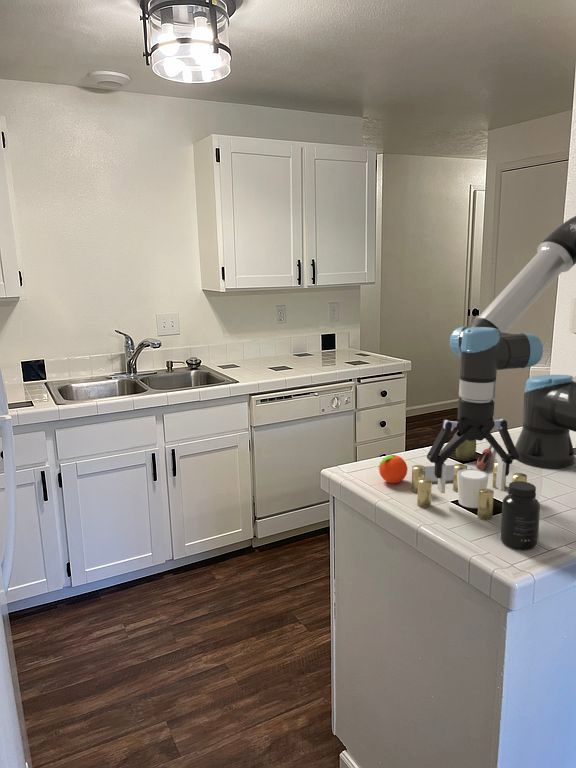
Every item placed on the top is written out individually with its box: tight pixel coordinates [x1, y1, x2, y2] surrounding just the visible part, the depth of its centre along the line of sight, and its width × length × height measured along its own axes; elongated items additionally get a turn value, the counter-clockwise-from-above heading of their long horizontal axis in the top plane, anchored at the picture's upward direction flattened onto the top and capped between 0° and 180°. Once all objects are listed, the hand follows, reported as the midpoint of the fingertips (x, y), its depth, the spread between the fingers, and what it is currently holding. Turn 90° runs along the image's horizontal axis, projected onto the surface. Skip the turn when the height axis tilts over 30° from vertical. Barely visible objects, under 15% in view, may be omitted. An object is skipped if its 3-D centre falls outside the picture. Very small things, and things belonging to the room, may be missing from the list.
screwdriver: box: [475, 444, 493, 471], centre depth 160 cm, size 25×3×3 cm, turn 153°
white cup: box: [457, 468, 490, 509], centre depth 131 cm, size 7×7×7 cm
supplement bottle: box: [500, 481, 541, 551], centre depth 112 cm, size 7×7×12 cm
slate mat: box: [424, 464, 455, 485], centre depth 148 cm, size 11×10×1 cm
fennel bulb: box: [455, 435, 477, 462], centre depth 157 cm, size 6×5×12 cm
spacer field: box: [411, 460, 528, 521], centre depth 131 cm, size 25×18×6 cm
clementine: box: [378, 454, 408, 484], centre depth 143 cm, size 8×7×7 cm
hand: (470, 490), depth 131 cm, fingers open, 13 cm apart
